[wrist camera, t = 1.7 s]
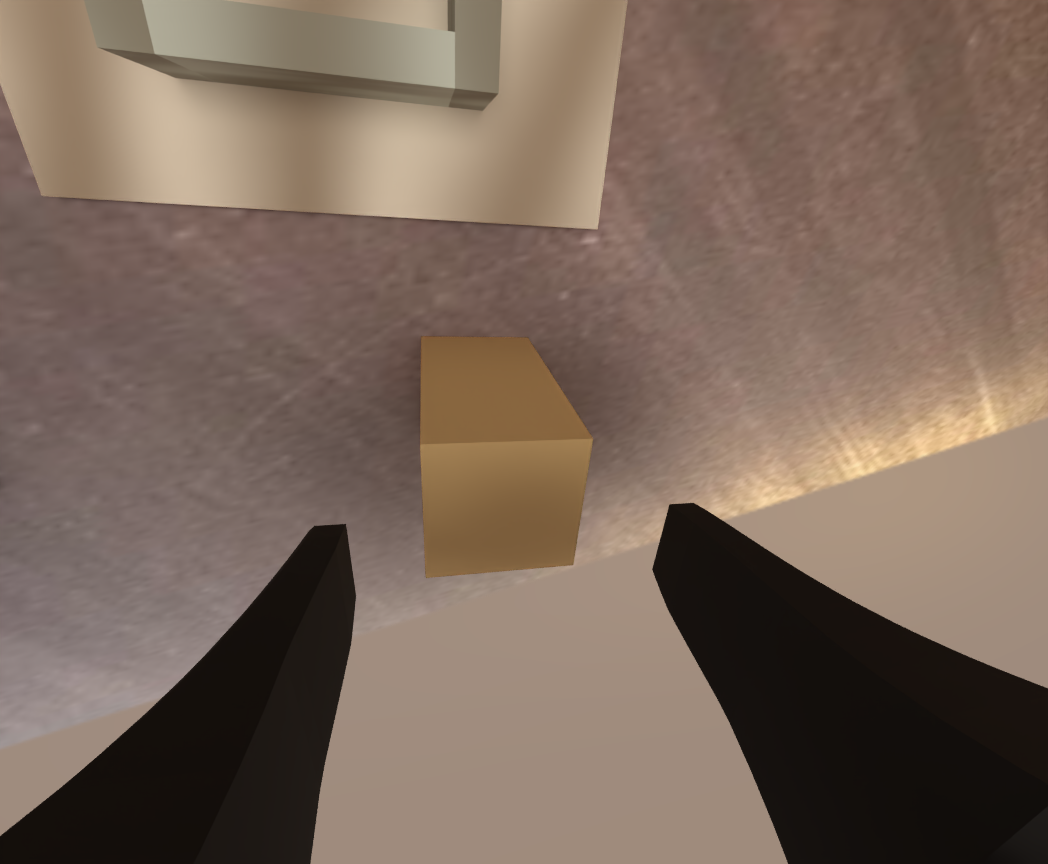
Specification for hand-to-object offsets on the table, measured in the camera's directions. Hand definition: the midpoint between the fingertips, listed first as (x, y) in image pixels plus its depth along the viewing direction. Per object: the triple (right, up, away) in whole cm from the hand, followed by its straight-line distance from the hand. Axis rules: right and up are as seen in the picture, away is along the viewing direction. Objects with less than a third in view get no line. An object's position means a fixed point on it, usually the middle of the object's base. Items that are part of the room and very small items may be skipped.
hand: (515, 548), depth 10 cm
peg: (-2, +4, +8) cm, 9 cm away
